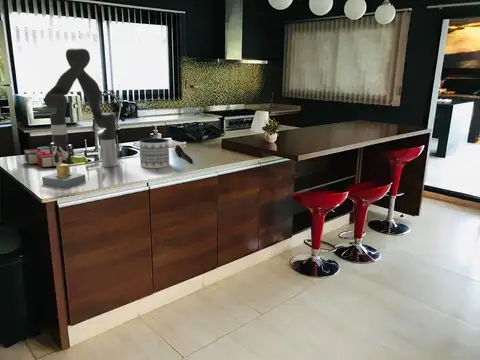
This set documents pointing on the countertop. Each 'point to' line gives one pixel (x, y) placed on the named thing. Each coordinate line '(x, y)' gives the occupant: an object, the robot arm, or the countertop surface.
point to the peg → (63, 170)
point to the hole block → (64, 180)
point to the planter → (154, 152)
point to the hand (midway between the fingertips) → (63, 163)
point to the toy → (43, 157)
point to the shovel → (182, 154)
